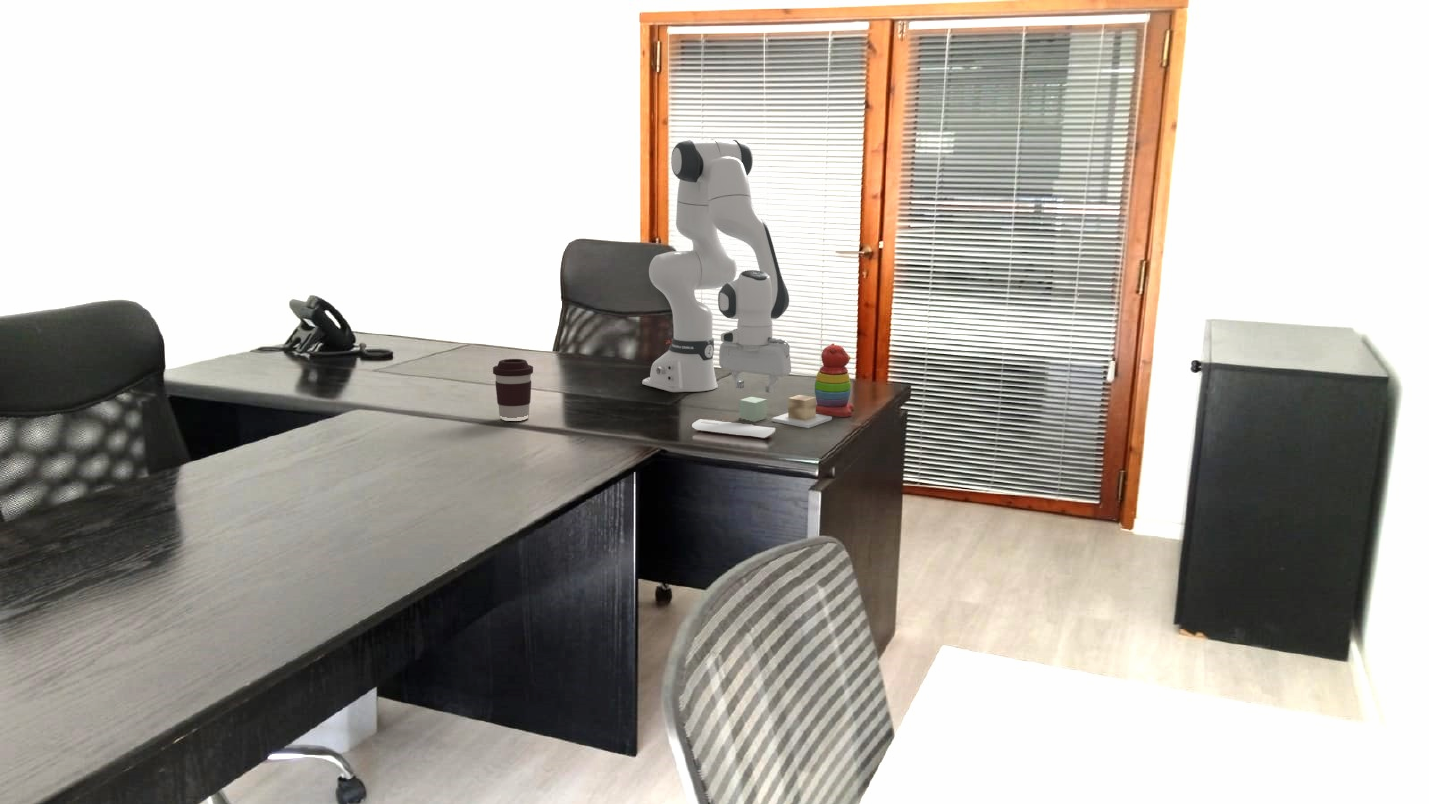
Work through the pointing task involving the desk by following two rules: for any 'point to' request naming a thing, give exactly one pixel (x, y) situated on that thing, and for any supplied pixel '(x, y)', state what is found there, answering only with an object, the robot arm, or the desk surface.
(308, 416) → the desk surface
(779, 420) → the plate
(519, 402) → the coffee cup
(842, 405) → the stacking bear
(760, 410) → the sage block
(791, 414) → the oak block
